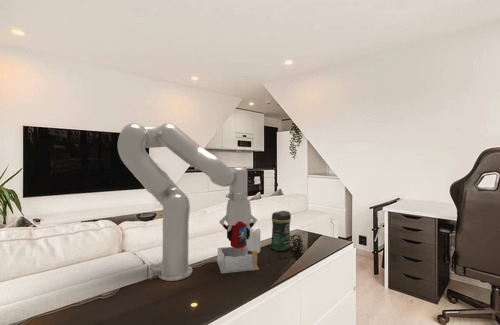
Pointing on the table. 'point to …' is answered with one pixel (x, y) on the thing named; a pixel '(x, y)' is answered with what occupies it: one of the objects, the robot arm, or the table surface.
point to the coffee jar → (281, 230)
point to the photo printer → (254, 239)
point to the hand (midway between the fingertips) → (238, 238)
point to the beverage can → (238, 235)
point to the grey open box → (236, 259)
